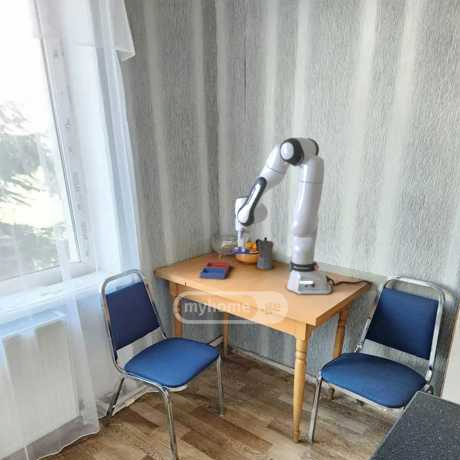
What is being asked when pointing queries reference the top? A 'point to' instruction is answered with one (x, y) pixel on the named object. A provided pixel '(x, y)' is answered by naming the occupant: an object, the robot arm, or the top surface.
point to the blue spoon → (239, 251)
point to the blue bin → (213, 273)
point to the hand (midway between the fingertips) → (243, 250)
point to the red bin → (217, 263)
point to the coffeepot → (264, 253)
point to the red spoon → (220, 265)
